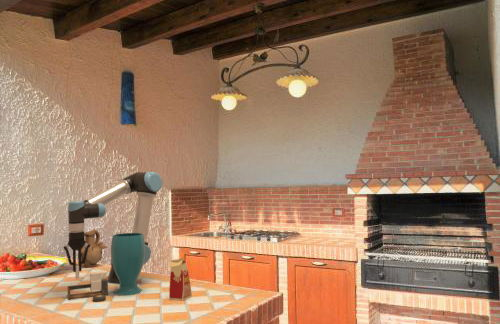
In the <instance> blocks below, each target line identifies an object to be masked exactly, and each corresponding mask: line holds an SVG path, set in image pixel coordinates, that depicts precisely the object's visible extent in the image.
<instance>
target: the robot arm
mask: <svg viewBox="0 0 500 324" xmlns="http://www.w3.org/2000/svg"><path fill="white" fill-rule="evenodd" d="M162 187H163V180H162V177H161V175H160V174H159V173H157V172H155V171H144V172H143V171H141V172H140V171H138V172H135V173H132V174H129V175H128V176H126V177H124V178H121V179H120V180H119V182H118V183H116V184H114V185H112V186H110V187H108V188H106V189H104V190H102V191H100V192H99V193H96V194H95V195H92V196H91V197H88V198H86V199H84V200H74V201H73V200H70V201H68V207H67V213H68V214H67V215H68V216H67V218H68V241H67V244H66V245H63V246H62V248H63V250H65V254H66V257H67V261H68V263H69V265H70V266H72V272H73V273H74V274H75V279H76V280H77V279H80V272H82V266H83V265H84V263H85V260H86V256H87V252H88V248H89V247H90V244H87V243H86V241H85V234H84V233H85V220H86V219H95V218H98V219H99V218H103V217H104V216H105V215H106V213H107V211H106V210H107V208H106V205H107V204H109V203H111V202H113V201H115V200H117V199H118V198H120V197H122V196H124V195H129V194H132V193H136V194H137V204H136V208H135V215H134V221H133V225H132V232H131V233H141V234H143V235H144V240H145V259H144V263H143V266H144V265H145V264H147V263H148V261H149V260H150V259H151V255H152V250H151V247H150V246H149V241H148V239H147V237H148V231H149V227H150V221H151V220H150V219H151V214H152V208H153V202H154V199H155V198H156V197H157V193H158V192H159V191H160V190H161V189H162ZM84 245H85V251H84V255H83V260H82V261H81V249H82V248H83V246H84ZM69 247H70V248H69ZM69 249H71V250H72V258H71V255H70V252H69ZM77 250H78V251H77ZM76 256H77V257H76ZM77 260H78V261H77ZM110 260H111V259H110ZM77 262H78V264H77ZM110 265H111V267H110V270H109V274H108V276H107V277H108V278H107V280H108V283H111V284H120V281H119V279H118V277H117V275H116V273H115V271H114V268H113V264H112V260H111V261H110Z"/></svg>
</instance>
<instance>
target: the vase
mask: <svg viewBox="0 0 500 324" xmlns="http://www.w3.org/2000/svg"><path fill="white" fill-rule="evenodd" d="M110 244H111V245H110V260H112V264H113V268H114V271H115V273H116V275H117V277H118V279H119V281H120V283H119V287H118V288H117V289H116V291H115V292H113V294H114V295H117V296H132V295H137V293H138V294H141V293H142V292H143V291H142V290H143V289H142V288H140V287H139V286H138V284H137V281H138V279H139V276H140V274H141V271H142V269H143V267H144V265H143V263H144V259H145V240H144V235H143V234H141V233H132V232H127V233H126V232H125V233H116V234H113V235H112V237H111V243H110ZM141 291H142V292H141ZM140 292H141V293H140Z"/></svg>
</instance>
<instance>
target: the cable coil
mask: <svg viewBox="0 0 500 324" xmlns="http://www.w3.org/2000/svg"><path fill="white" fill-rule="evenodd" d="M106 300H107V295H95V296H93V297H92V302H95V303H101V302H106Z"/></svg>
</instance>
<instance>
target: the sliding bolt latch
mask: <svg viewBox="0 0 500 324" xmlns="http://www.w3.org/2000/svg"><path fill="white" fill-rule="evenodd" d="M90 288H91V284H90V283H85V284H77V285H69V286H67V295H66V296H67V300H68V301H70V300H79V299H86V298H87V299H88V298H93V296H95V295H106V296H109V282H108V278H103V279H102V278H101V290H95V291H88V292H79V293H71V291H73V290H81V289H90Z"/></svg>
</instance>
